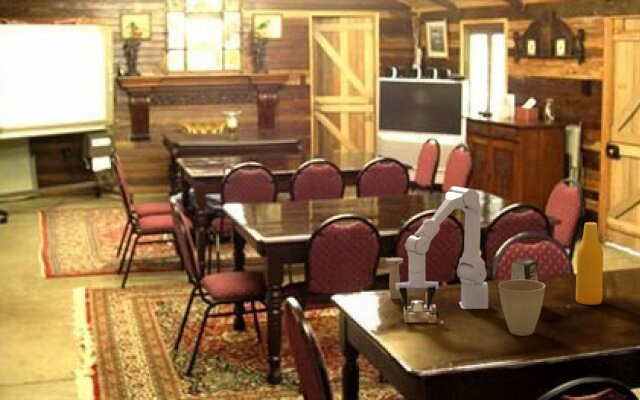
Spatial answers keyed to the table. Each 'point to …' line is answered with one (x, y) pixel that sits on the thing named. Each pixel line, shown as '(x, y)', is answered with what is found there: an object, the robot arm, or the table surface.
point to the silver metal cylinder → (417, 306)
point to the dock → (420, 315)
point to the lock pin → (430, 306)
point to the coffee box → (524, 270)
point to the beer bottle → (589, 267)
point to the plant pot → (521, 304)
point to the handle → (394, 276)
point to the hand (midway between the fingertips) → (417, 308)
